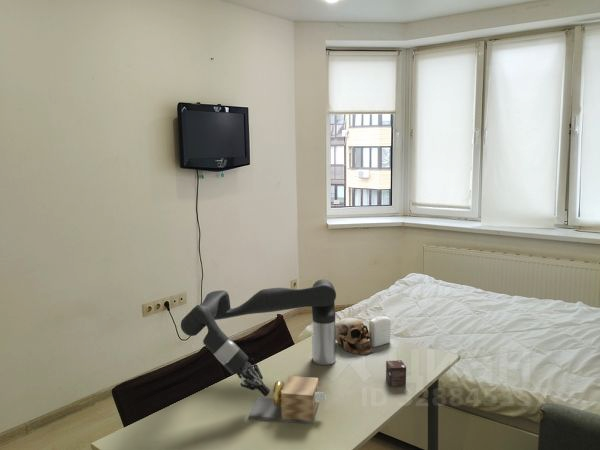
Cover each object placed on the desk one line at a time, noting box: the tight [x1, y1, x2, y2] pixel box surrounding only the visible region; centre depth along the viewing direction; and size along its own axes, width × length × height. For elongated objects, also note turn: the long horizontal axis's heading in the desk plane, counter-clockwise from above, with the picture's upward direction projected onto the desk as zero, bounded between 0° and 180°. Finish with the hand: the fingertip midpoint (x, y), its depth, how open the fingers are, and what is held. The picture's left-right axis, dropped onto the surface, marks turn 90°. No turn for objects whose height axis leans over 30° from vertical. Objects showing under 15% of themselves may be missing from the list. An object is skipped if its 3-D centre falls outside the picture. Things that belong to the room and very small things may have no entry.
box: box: [385, 359, 407, 388], centre depth 176 cm, size 6×6×7 cm
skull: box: [335, 317, 374, 356], centre depth 209 cm, size 16×17×13 cm
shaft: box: [272, 380, 327, 407], centre depth 156 cm, size 16×8×8 cm, turn 79°
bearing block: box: [248, 375, 320, 425], centre depth 157 cm, size 21×12×10 cm, turn 79°
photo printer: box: [368, 315, 391, 348], centre depth 211 cm, size 10×4×12 cm, turn 120°
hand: (267, 393), depth 158 cm, fingers closed
